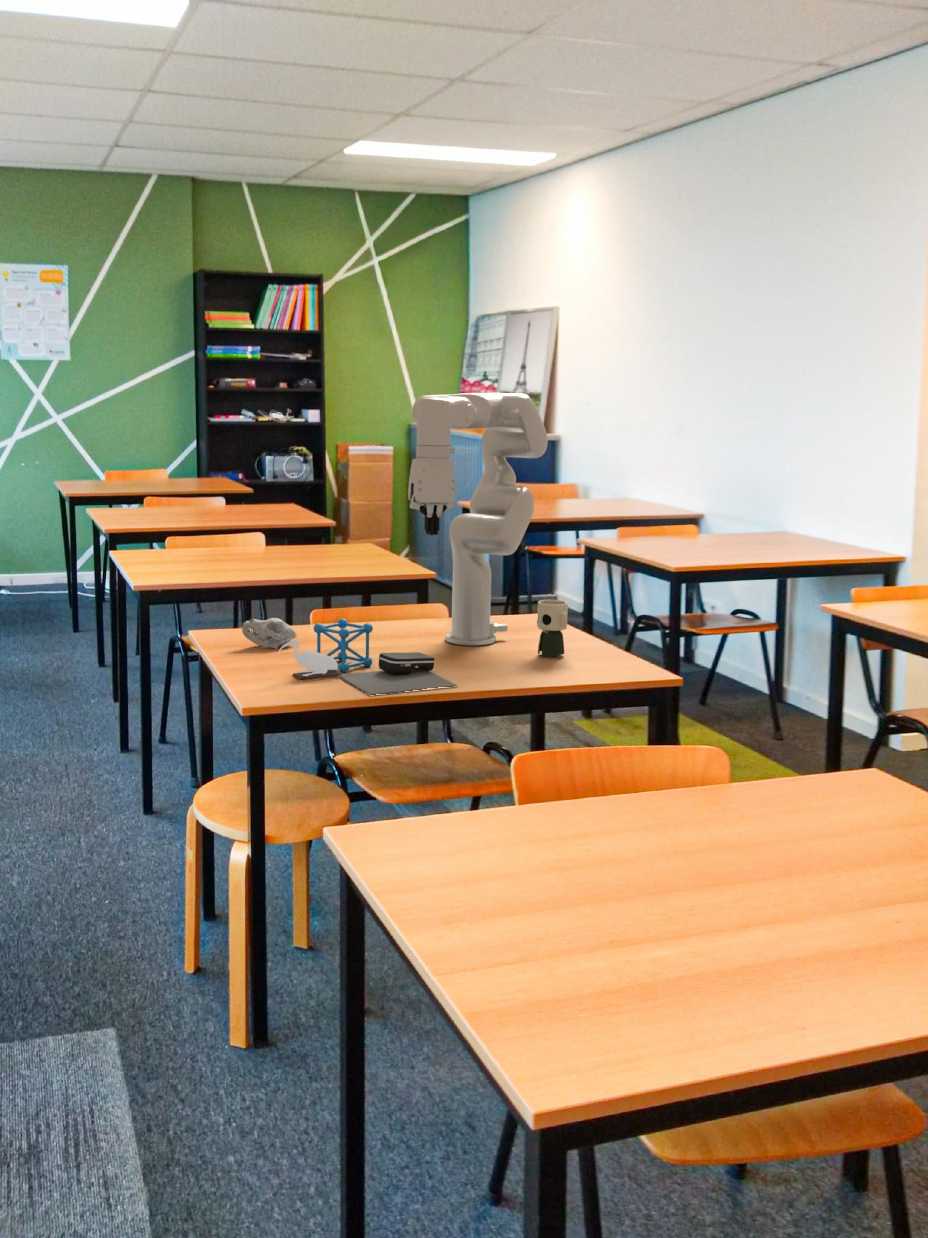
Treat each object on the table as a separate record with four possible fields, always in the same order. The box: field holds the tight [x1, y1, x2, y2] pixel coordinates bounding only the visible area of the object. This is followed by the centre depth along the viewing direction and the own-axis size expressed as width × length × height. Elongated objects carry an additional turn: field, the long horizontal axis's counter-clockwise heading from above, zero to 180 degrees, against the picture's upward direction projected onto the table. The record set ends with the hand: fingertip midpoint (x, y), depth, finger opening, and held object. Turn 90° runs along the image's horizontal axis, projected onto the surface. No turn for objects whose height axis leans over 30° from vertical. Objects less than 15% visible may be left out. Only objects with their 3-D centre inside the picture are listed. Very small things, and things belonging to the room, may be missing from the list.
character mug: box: [536, 599, 569, 658], centre depth 295 cm, size 11×7×13 cm, turn 32°
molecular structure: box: [313, 617, 374, 674], centre depth 280 cm, size 10×10×10 cm
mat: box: [337, 666, 458, 696], centre depth 268 cm, size 20×18×1 cm
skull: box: [241, 617, 298, 650], centre depth 298 cm, size 8×9×12 cm
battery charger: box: [378, 651, 436, 674], centre depth 276 cm, size 7×4×11 cm
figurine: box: [277, 639, 343, 681], centre depth 270 cm, size 14×4×9 cm, turn 119°
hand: (431, 534), depth 285 cm, fingers closed
